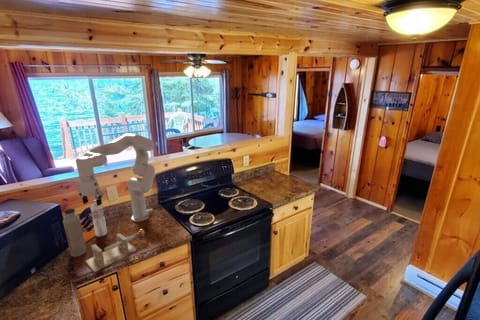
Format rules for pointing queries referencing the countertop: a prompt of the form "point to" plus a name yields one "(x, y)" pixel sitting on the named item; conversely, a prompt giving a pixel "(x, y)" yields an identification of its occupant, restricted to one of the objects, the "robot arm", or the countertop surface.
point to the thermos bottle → (74, 233)
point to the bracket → (109, 254)
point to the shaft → (141, 232)
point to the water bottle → (98, 219)
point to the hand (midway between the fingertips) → (92, 203)
